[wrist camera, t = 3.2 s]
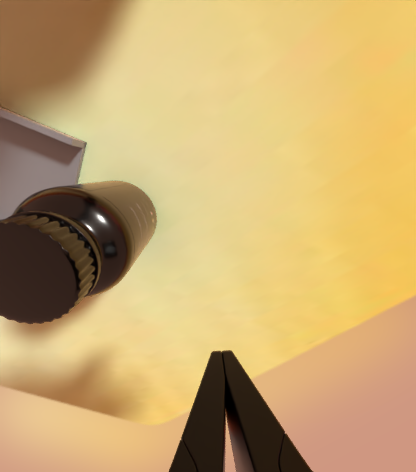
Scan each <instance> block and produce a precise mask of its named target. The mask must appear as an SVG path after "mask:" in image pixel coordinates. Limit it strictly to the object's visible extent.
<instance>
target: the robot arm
mask: <svg viewBox="0 0 416 472" xmlns="http://www.w3.org/2000/svg"><path fill="white" fill-rule="evenodd" d="M226 417H227V423H228V428H229V434H230V439H231V445H232V450H233V456H234V461H235V467H236V472H313V471H312V470H311V469H310V467H309V466H308V465H307V463H306V462H305V460H304V459H303V457H302V456H301V455H300V453H299V452H298V451H297V449H296V447H295V446H294V444H293V443H292V441H291V440H290V438H289V437H288V435H287V434H285V431H284V429H283V428H282V426H281V425H280V423H279V422H278V420H277V419H276V417H275V416H274V414H273V413H272V411H271V410H270V408H269V407H268V405H267V404H266V402H265V401H264V399H263V397H262V396H261V395H260V393H259V391H258V390H257V388H256V387H255V385H254V384H253V382H252V381H251V379H250V378H249V376H248V375H247V373H246V372H245V370H244V369H243V367H242V366H241V364H240V363H239V361H238V360H237V358H236V357H235V355H234V353H233V352H232V351H231V350H228V351H222V352H221V351H213V352H212V353H211V355H210V358H209V361H208V364H207V367H206V369H205V372H204V375H203V378H202V381H201V384H200V386H199V389H198V392H197V395H196V398H195V401H194V403H193V406H192V409H191V412H190V415H189V417H188V420H187V423H186V426H185V429H184V432H183V434H182V437H181V440H180V443H179V445H178V448H177V451H176V454H175V456H174V459H173V462H172V464H171V467H170V469H169V472H225V430H226V426H225V425H226Z"/></svg>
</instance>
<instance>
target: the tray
mask: <svg viewBox="0 0 416 472" xmlns="http://www.w3.org/2000/svg"><path fill="white" fill-rule="evenodd" d="M85 147H86V142H84V141H81V140H79V139H77V138H74V137H72V136H69V135H67V134H65V133H62V132H60V131H57V130H55V129H53V128H50V127H48V126H45V125H43V124H40V123H38V122H36V121H33V120H31V119H28V118H26V117H24V116H21V115H19V114H16V113H14V112H11V111H9V110H7V109H4V108H2V107H0V220H2V219H6V218H8V217H10V216H12V214H13V212H14V211H15V209H16V208H17V207H18V206H19V205H20V203H21V202H23V201H24V200H25V199H26V198H27V197H29V196H30V195H32V194H34V193H36V192H38V191H41V190H44V189H48V188H52V187H59V186H67V185H76V184H77V183H78V179H79V174H80V170H81V165H82V161H83V156H84V152H85Z"/></svg>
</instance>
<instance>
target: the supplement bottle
mask: <svg viewBox="0 0 416 472" xmlns="http://www.w3.org/2000/svg"><path fill="white" fill-rule="evenodd" d="M156 223H157V216H156V211H155V208H154V205H153V203H152V201H151V200H150V198H149V197H148V196H147V195H146V194H145V193H144V192H143V191H142V190H141V189H139V188H138V187H136V186H134V185H132V184H130V183H127V182H122V181H104V182H95V183H86V184H76V185H67V186H59V187H52V188H48V189H44V190H41V191H38V192H36V193H34V194H32V195H30V196H29V197H27V198H26V199H25V200H24V201H23V202H21V203H20V205H19V206H18V207H17V208H16V209H15V211H14V212H13V214H12V216H10V217H8V218H6V219H2V220H0V316H3V317H5V318H7V319H9V320H15V321H17V322H19V323H22V322H25V323H29V324H33V323H40V324H41V323H44V322H51V321H53V320H54V319H58V318H61V317H62V316H64V315H65V314H67V313H69V312H70V311H71V310H72V309H73V308H74V307H75V306H76V305H77V304H78V303H79V302H80V301H81V300H82V299H83V298H85V297H91V296H95V295H98V294H101V293H103V292H106V291H108V290H109V289H111V288H113V287H114V286H115V285H117V284H118V283H119V282H120V281H121V280H122V279H123V277H124V276H125V275H126V274H127V272H128V271H129V270H130V268H131V267H132V265H133V264H134V262H135V261H136V259H137V258H138V257H139V255H140V254H141V252H142V251H143V249H144V248H145V246H146V245H147V244H148V242H149V241H150V239H151V238H152V236H153V234H154V232H155V228H156Z"/></svg>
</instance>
